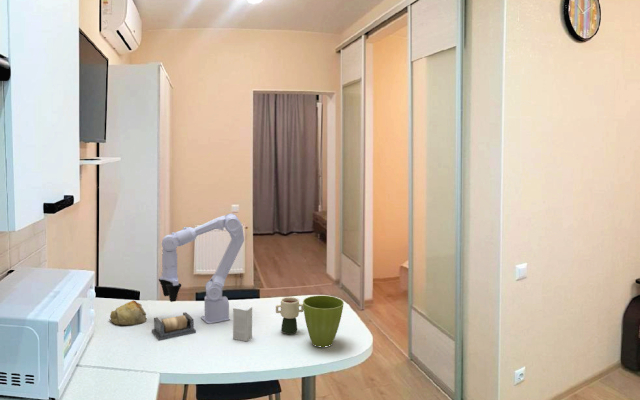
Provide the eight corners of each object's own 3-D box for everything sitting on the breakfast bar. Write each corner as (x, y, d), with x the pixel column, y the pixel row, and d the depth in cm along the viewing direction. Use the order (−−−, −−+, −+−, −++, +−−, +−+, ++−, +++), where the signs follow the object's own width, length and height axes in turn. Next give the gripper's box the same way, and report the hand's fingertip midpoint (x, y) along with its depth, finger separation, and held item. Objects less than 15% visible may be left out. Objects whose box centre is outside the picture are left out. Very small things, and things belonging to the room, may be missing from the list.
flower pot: (297, 337, 182) (298, 296, 180) (334, 333, 186) (336, 294, 184) (307, 354, 168) (308, 310, 166) (347, 350, 172) (349, 307, 170)
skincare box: (252, 337, 181) (252, 306, 179) (247, 341, 177) (247, 310, 175) (238, 334, 183) (238, 304, 181) (232, 339, 179) (232, 308, 177)
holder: (187, 324, 190) (187, 311, 190) (195, 332, 183) (195, 318, 182) (151, 332, 182) (151, 318, 182) (158, 340, 175) (158, 326, 174)
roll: (181, 324, 187) (182, 312, 185) (186, 331, 183) (187, 319, 181) (161, 328, 182) (162, 316, 181) (165, 335, 178) (166, 323, 177)
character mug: (301, 328, 191) (302, 296, 190) (304, 335, 184) (305, 302, 183) (274, 329, 189) (274, 297, 187) (276, 336, 182) (277, 303, 180)
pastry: (153, 318, 196) (153, 299, 195) (131, 329, 185) (130, 309, 184) (127, 313, 201) (126, 294, 200) (103, 323, 190) (103, 303, 189)
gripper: (153, 262, 193) (154, 295, 195) (165, 271, 181) (165, 305, 183) (171, 260, 197) (171, 292, 199) (183, 268, 185) (183, 302, 187)
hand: (169, 298), depth 191 cm, fingers open, 7 cm apart
